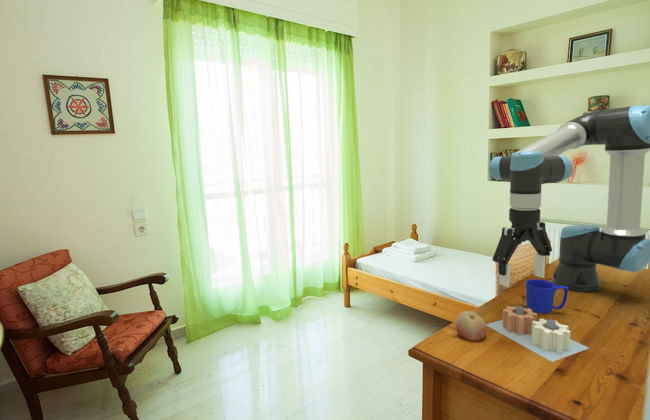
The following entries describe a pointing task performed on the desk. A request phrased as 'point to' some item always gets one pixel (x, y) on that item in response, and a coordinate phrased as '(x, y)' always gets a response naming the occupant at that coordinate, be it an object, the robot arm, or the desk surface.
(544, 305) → the mug
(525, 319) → the loose gear
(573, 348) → the gear board
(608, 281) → the desk surface
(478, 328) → the fruit
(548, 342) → the gear
